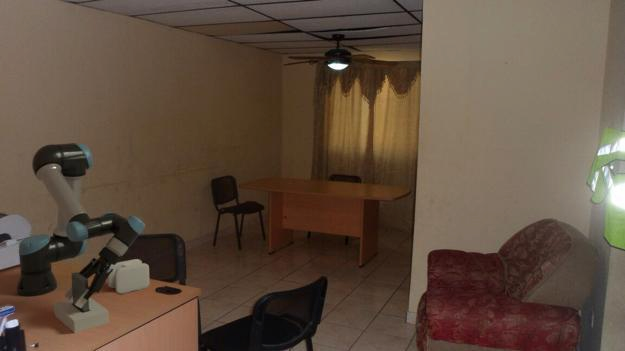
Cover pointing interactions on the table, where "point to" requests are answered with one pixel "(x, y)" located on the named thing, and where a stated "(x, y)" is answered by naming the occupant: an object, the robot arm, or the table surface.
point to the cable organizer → (129, 276)
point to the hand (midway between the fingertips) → (72, 301)
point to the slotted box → (81, 315)
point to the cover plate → (79, 290)
